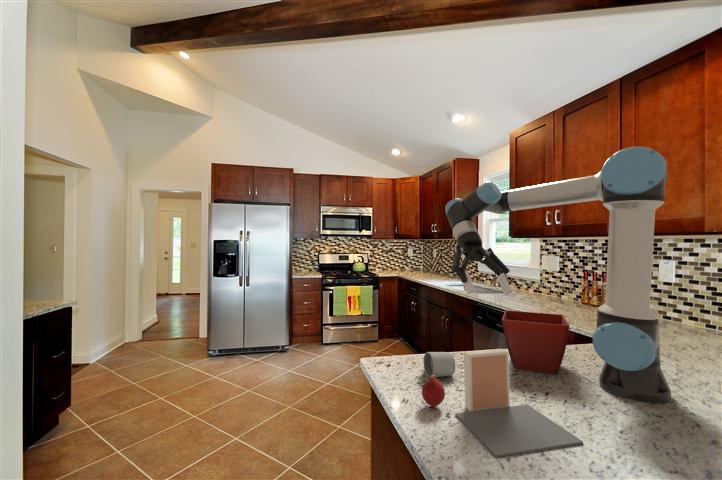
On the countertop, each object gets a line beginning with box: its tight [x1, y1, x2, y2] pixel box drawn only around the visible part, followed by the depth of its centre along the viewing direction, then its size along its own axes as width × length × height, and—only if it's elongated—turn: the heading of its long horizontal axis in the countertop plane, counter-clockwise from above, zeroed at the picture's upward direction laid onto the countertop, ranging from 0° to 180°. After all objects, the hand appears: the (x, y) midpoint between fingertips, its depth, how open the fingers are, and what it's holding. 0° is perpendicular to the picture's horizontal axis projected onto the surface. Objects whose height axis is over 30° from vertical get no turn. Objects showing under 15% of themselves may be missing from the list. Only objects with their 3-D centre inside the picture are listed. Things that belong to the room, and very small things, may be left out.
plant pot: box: [501, 309, 570, 375], centre depth 108 cm, size 19×19×17 cm
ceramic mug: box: [422, 351, 456, 379], centre depth 102 cm, size 11×8×8 cm
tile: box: [463, 348, 511, 412], centre depth 80 cm, size 11×3×14 cm, turn 101°
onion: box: [421, 375, 446, 408], centre depth 80 cm, size 6×6×8 cm
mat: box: [454, 403, 584, 459], centre depth 70 cm, size 16×20×1 cm
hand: (490, 292), depth 93 cm, fingers open, 13 cm apart
